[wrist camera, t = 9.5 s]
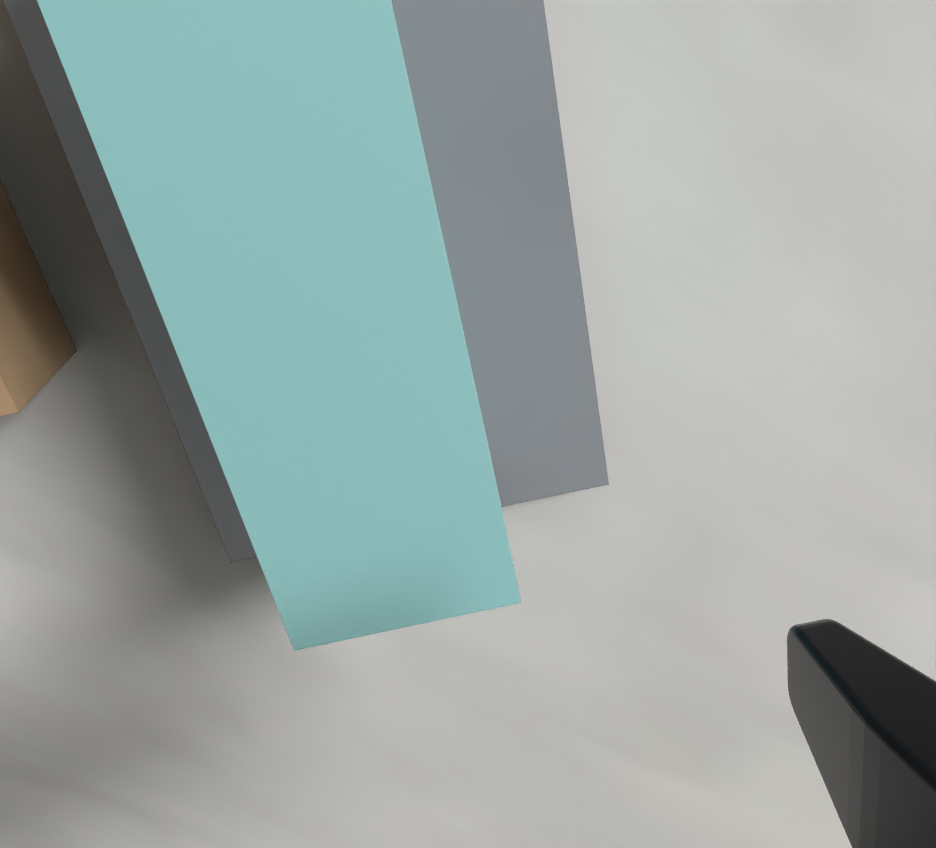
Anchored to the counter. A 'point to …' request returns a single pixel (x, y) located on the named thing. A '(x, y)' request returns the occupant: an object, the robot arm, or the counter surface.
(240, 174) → the block
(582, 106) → the counter surface
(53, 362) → the bay
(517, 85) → the coaster
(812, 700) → the robot arm
